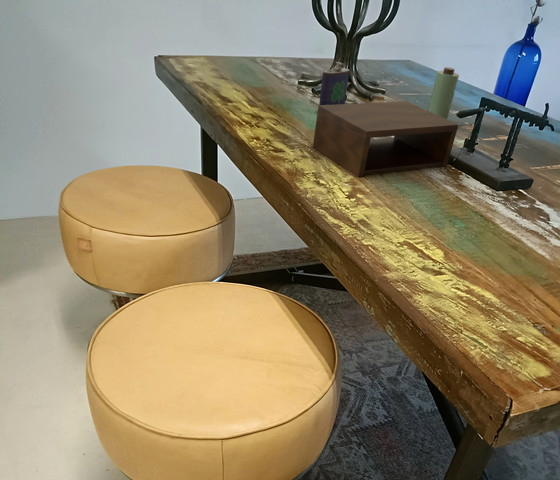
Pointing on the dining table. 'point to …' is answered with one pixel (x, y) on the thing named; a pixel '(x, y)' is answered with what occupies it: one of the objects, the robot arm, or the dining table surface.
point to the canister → (443, 92)
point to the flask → (334, 85)
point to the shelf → (383, 123)
